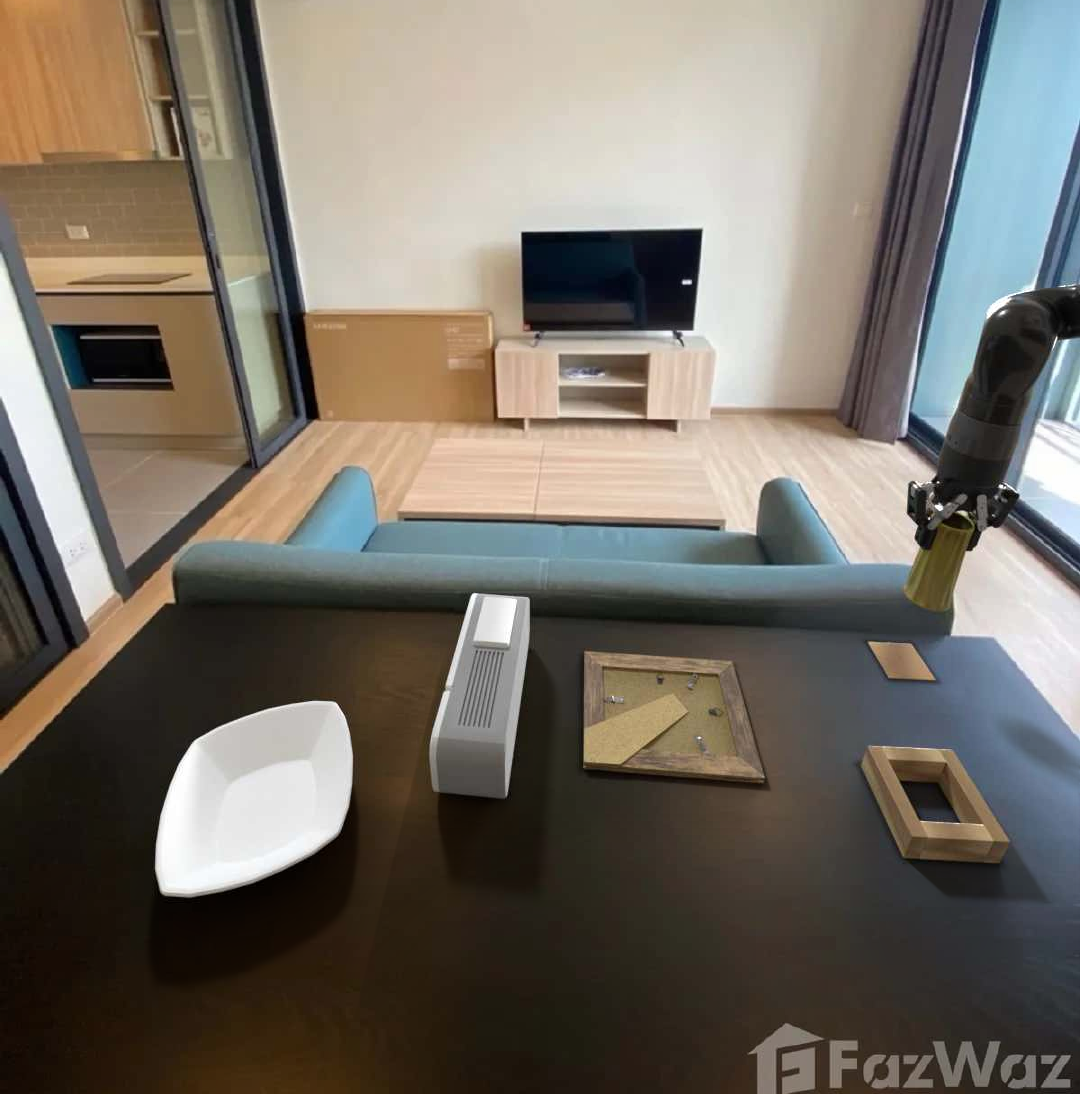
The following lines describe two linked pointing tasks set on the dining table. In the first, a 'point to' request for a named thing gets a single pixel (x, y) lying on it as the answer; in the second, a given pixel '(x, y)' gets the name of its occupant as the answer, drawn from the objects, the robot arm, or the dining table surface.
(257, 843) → the bowl
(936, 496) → the robot arm
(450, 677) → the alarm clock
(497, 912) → the dining table surface
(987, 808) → the holder
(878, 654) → the coaster
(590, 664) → the picture frame
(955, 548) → the vase
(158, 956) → the dining table surface
